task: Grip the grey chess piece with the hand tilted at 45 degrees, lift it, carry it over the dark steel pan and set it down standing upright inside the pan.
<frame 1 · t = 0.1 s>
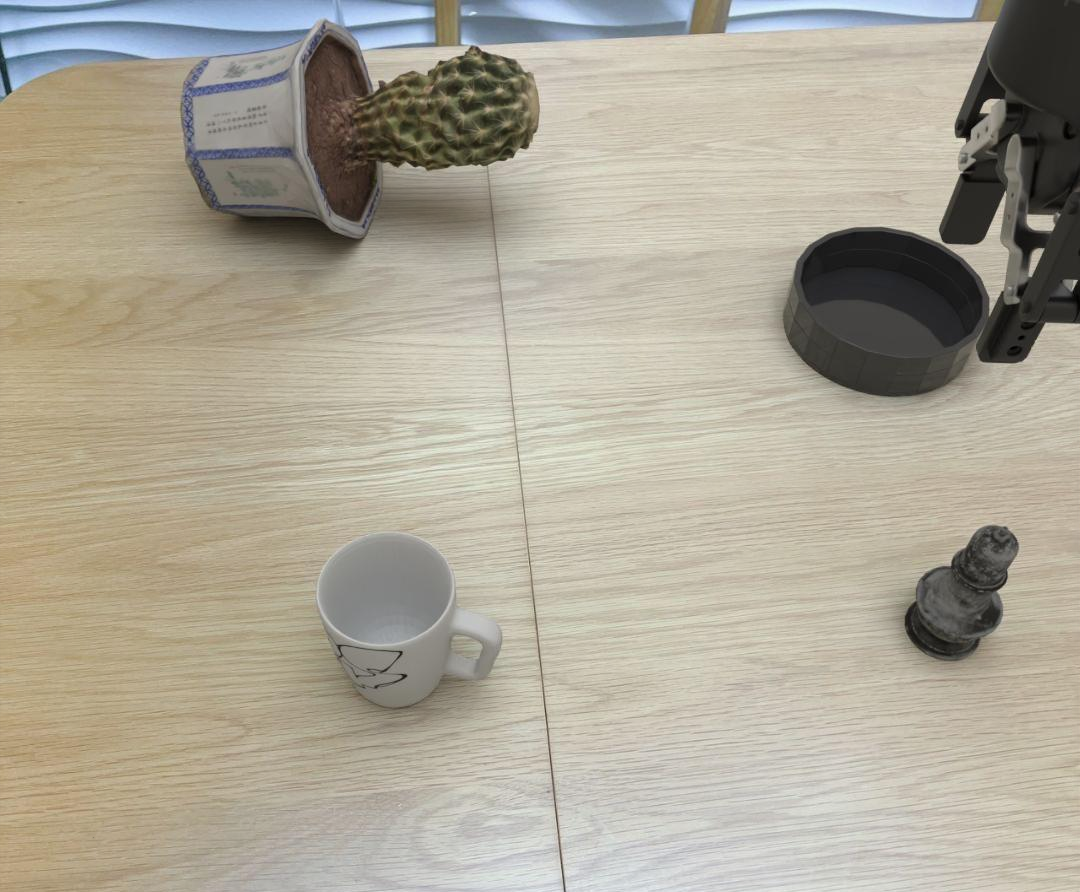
hand: (977, 295, 53), 30 cm above the table, tool pointing down, fingers open, 8 cm apart
potted plant: (373, 217, 102), on the table
pan: (876, 328, 95), on the table
grey chess piece: (941, 629, 77), on the table
mug: (419, 674, 74), on the table
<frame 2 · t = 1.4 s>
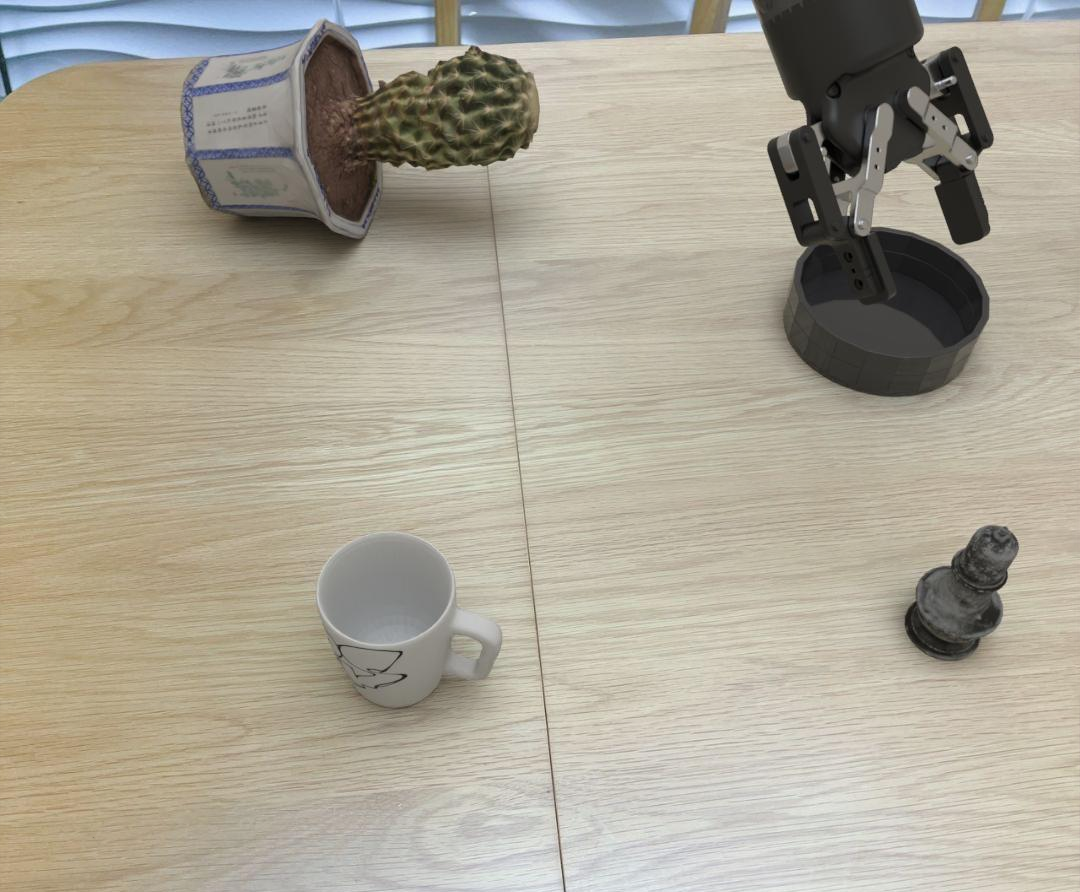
hand: (928, 269, 62), 25 cm above the table, tool tilted 45°, fingers open, 8 cm apart
nothing on the table moved.
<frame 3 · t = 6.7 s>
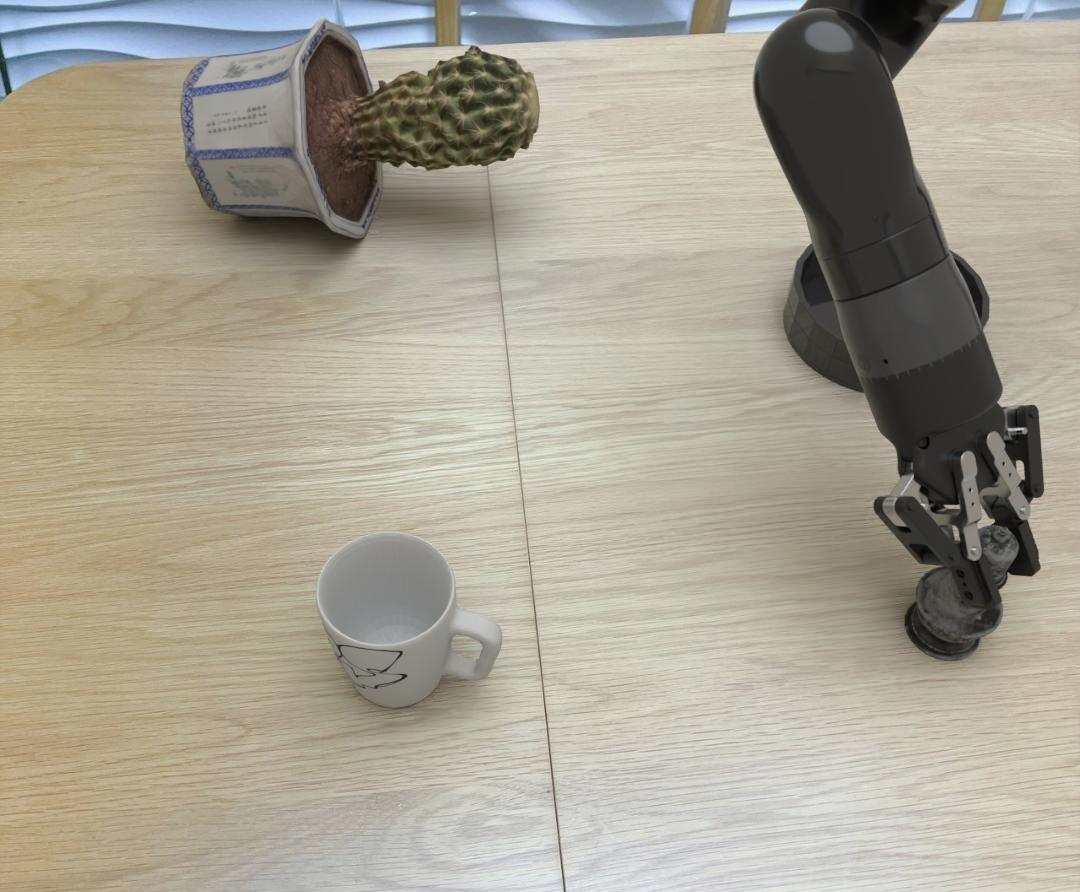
hand: (1005, 588, 70), 8 cm above the table, tool tilted 45°, fingers closed on grey chess piece, 3 cm apart
grey chess piece: (941, 629, 77), on the table, touching gripper
everything else where it was.
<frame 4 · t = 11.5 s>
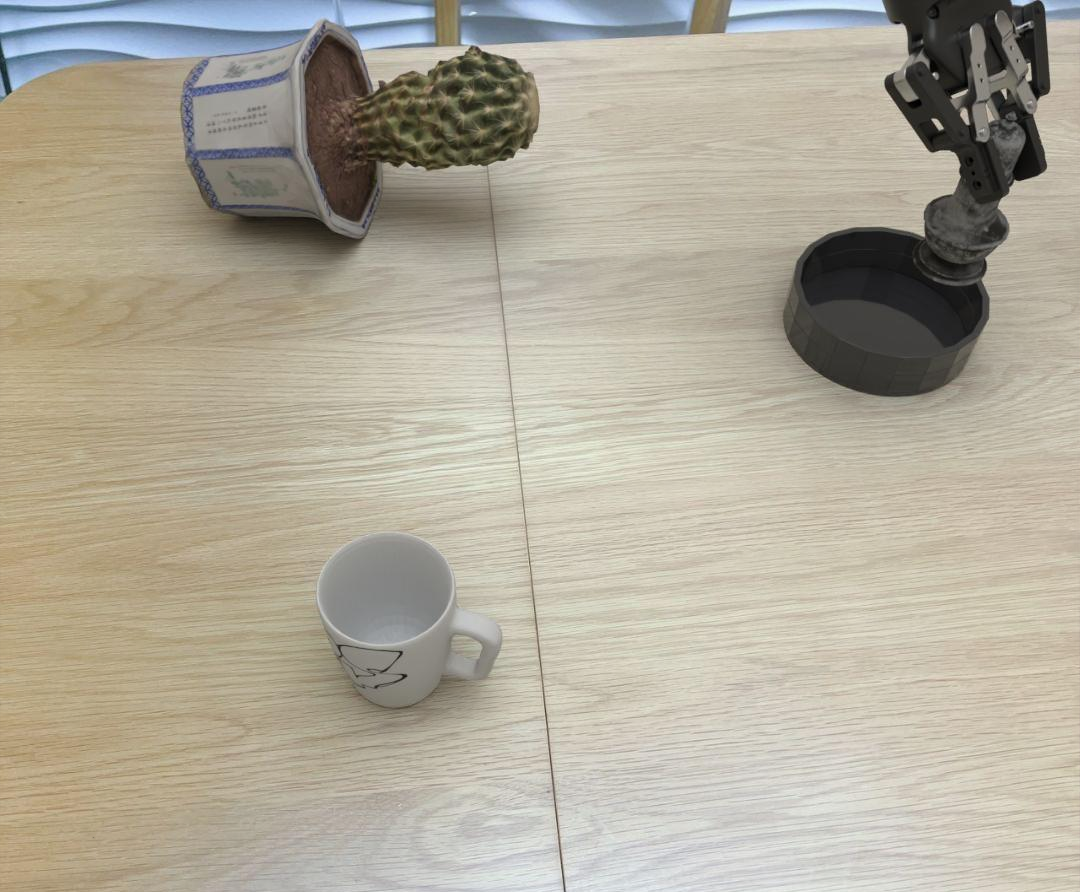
hand: (1012, 186, 72), 22 cm above the table, tool tilted 45°, fingers closed on grey chess piece, 3 cm apart
grey chess piece: (948, 263, 79), point 14 cm above the table, touching gripper
everything else where it was.
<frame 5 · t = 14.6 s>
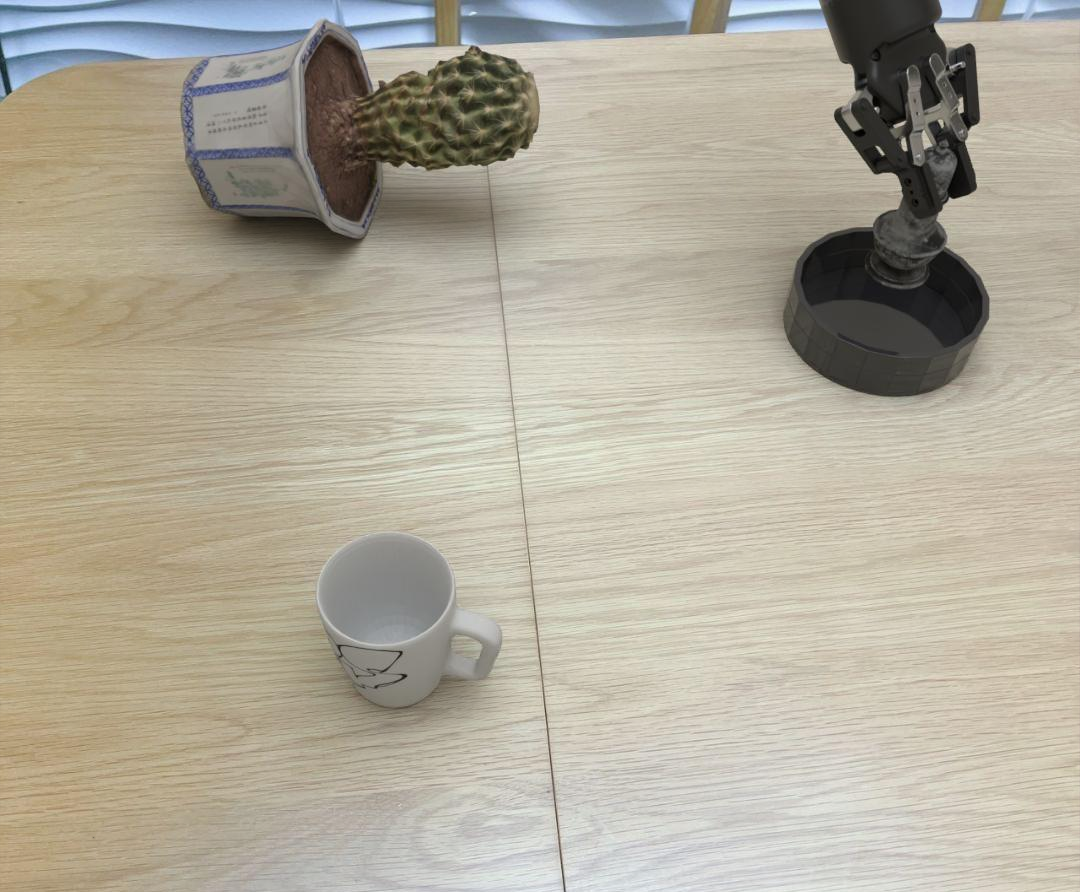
hand: (947, 204, 83), 14 cm above the table, tool tilted 45°, fingers closed on grey chess piece, 3 cm apart
grey chess piece: (895, 269, 90), point 6 cm above the table, touching gripper
everything else where it was.
when the fingers open (8 cm above the table, at t = 16.6 s): grey chess piece stays where it is, resting on pan.
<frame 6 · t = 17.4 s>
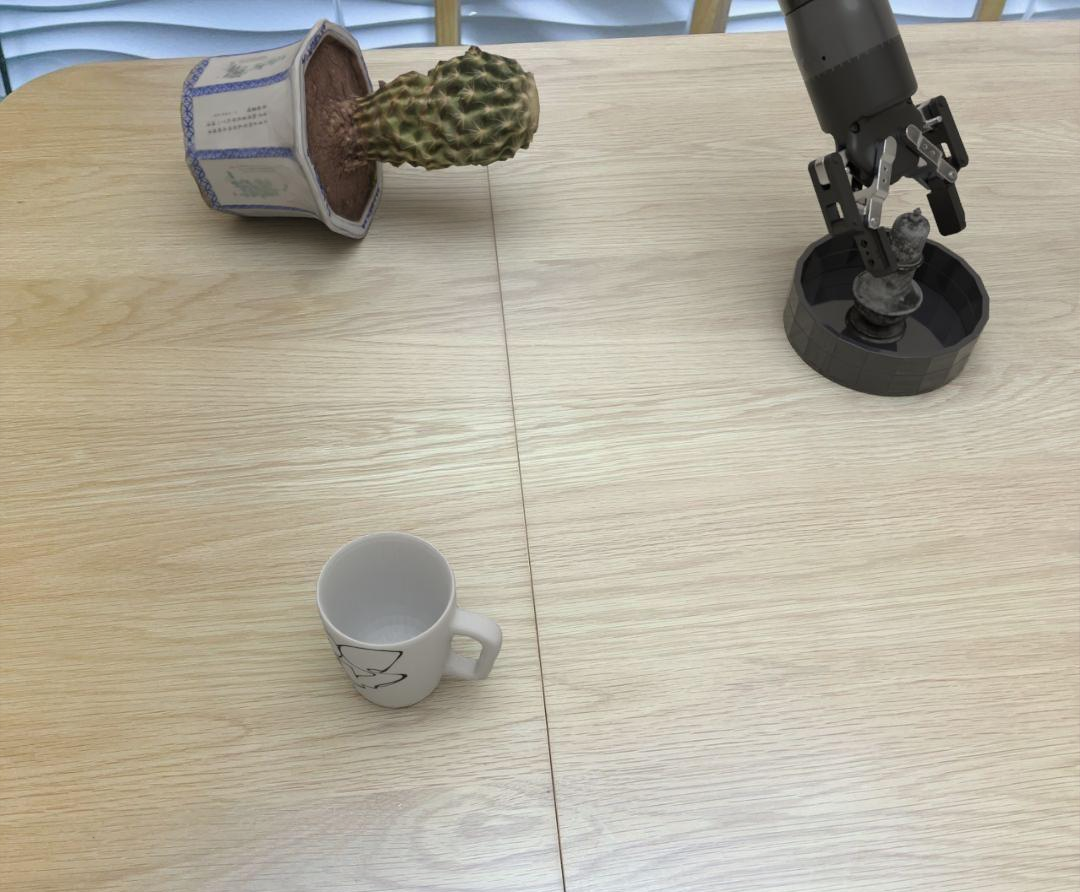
hand: (921, 253, 87), 9 cm above the table, tool tilted 45°, fingers open, 8 cm apart
grey chess piece: (875, 324, 95), resting on pan
everything else where it was.
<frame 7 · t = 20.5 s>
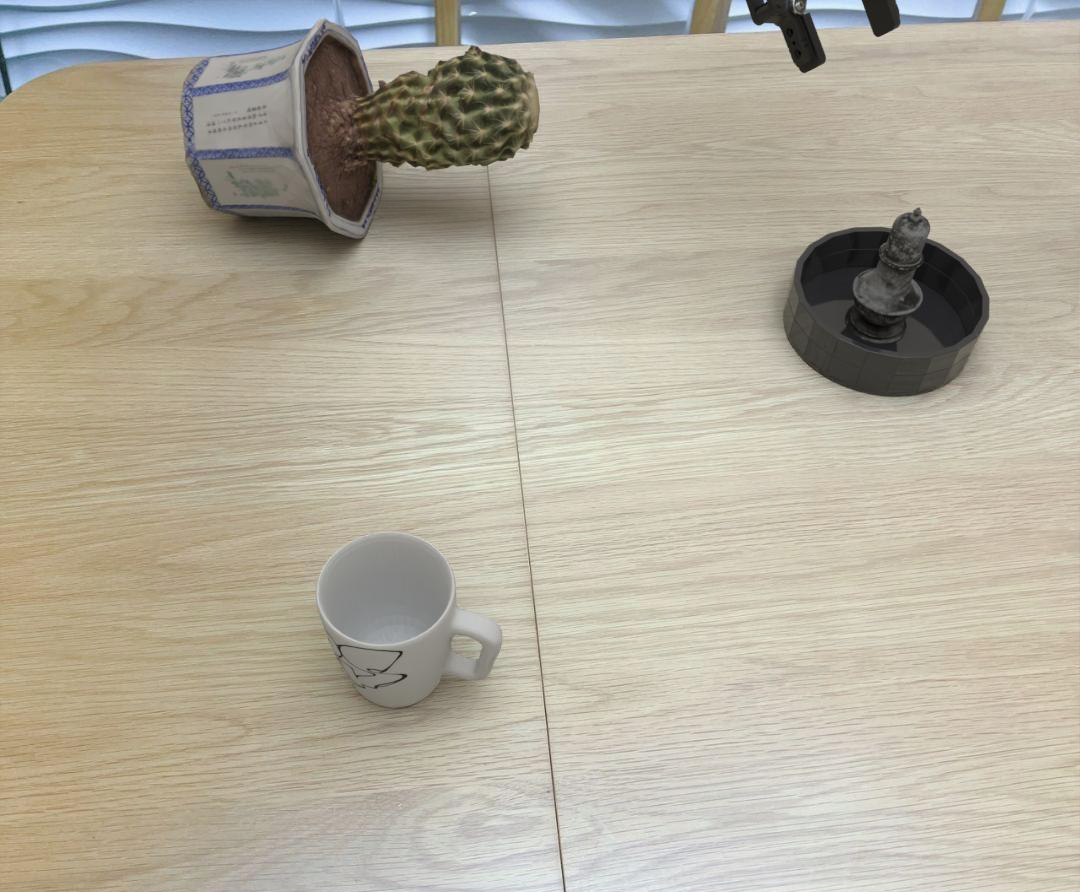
hand: (852, 49, 83), 21 cm above the table, tool tilted 45°, fingers open, 8 cm apart
nothing on the table moved.
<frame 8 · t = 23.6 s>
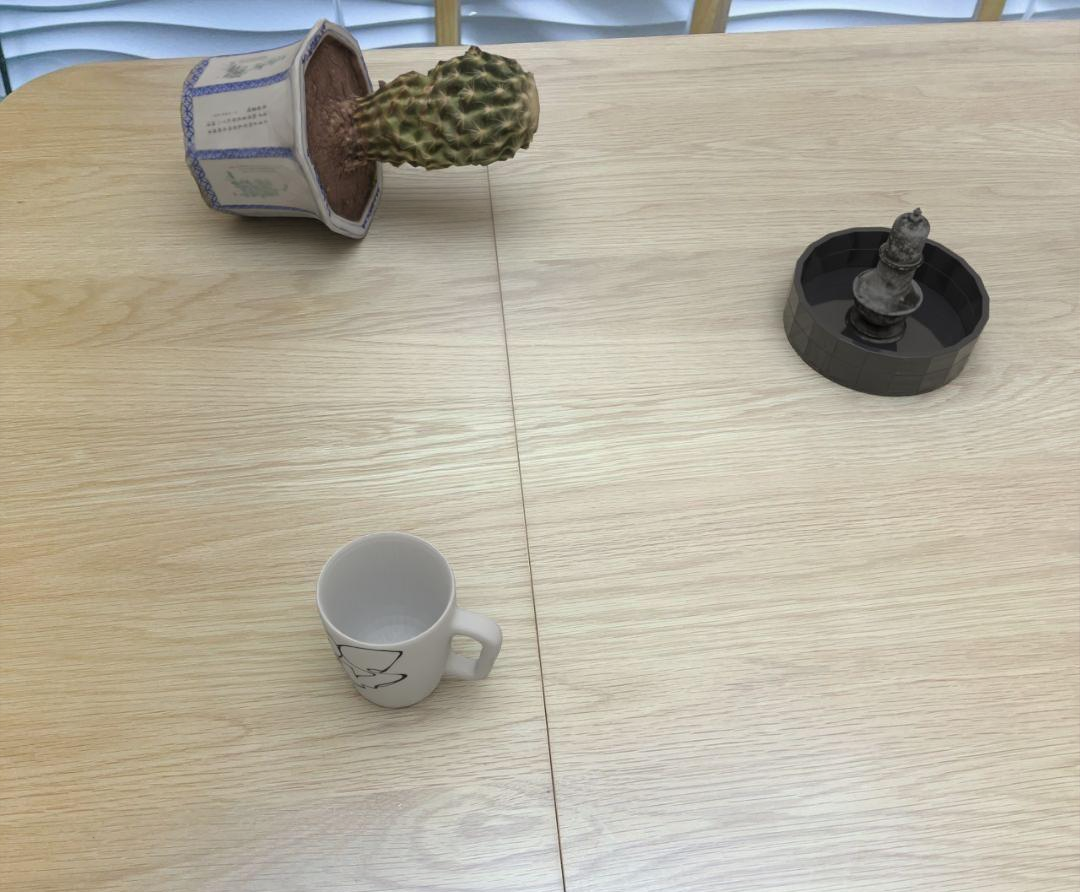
nothing on the table moved.
at the end: grey chess piece inside the target area in the pan (0.2 cm from its centre), point 0.3 cm above the pan's base; grey chess piece tilted 0°; the gripper is holding nothing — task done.
